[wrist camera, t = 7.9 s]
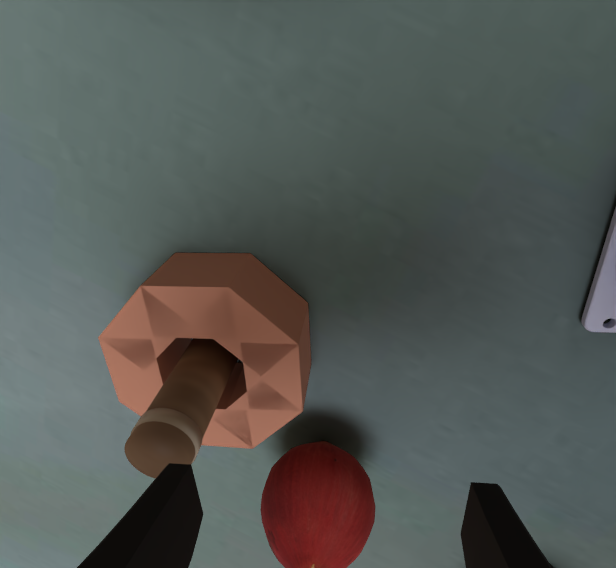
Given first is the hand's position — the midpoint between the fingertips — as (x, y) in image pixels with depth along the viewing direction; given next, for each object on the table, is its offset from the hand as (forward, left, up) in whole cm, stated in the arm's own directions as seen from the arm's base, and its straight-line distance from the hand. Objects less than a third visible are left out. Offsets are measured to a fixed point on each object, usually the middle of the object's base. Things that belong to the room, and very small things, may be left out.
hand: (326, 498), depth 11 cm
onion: (+1, +10, -11) cm, 15 cm away
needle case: (+6, +2, -10) cm, 12 cm away
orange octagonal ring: (+6, +2, -10) cm, 12 cm away
